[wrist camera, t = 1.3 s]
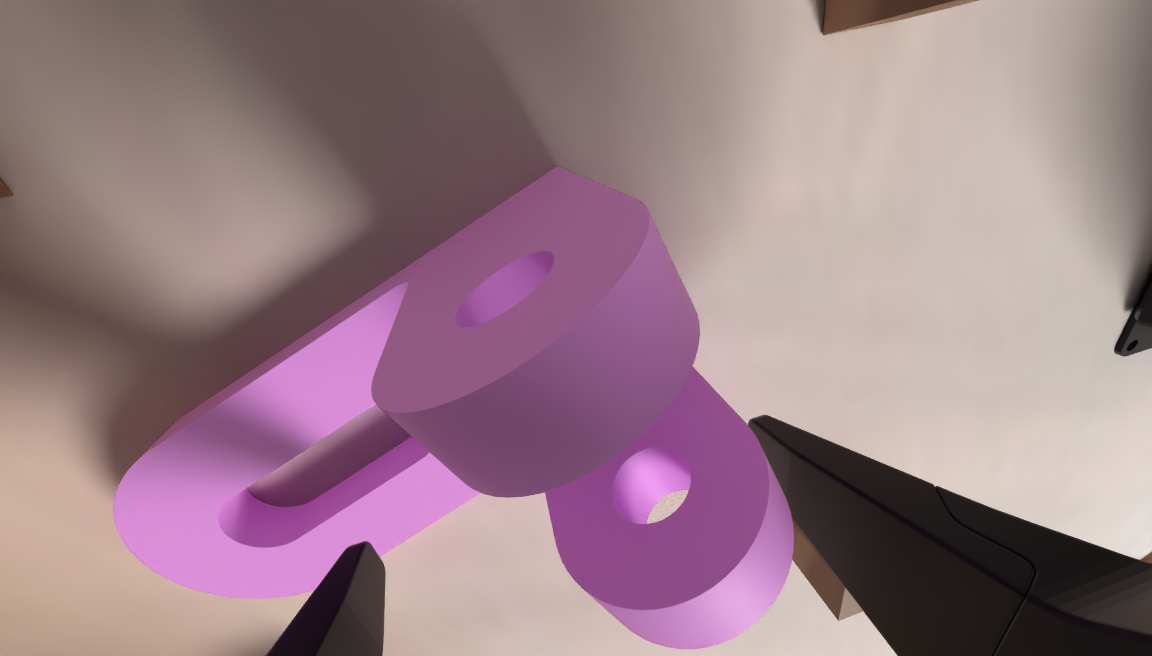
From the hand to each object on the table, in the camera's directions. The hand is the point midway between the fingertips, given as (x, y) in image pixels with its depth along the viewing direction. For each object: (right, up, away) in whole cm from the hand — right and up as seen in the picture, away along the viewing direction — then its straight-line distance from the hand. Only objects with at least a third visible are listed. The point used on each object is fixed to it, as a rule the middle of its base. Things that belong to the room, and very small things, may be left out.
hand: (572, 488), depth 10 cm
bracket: (-4, +2, +2) cm, 5 cm away
